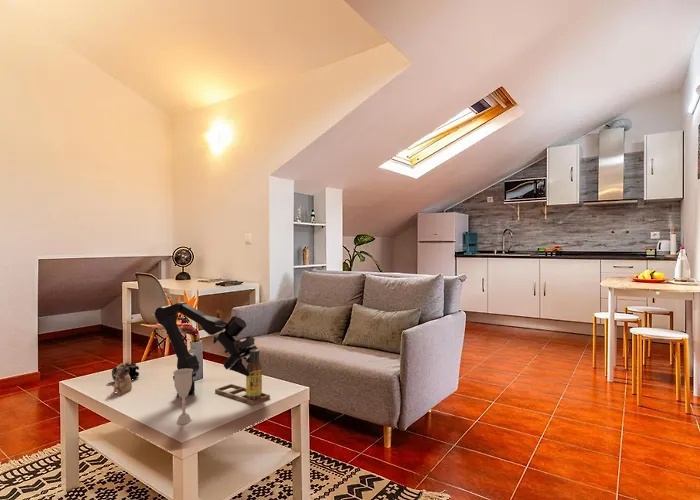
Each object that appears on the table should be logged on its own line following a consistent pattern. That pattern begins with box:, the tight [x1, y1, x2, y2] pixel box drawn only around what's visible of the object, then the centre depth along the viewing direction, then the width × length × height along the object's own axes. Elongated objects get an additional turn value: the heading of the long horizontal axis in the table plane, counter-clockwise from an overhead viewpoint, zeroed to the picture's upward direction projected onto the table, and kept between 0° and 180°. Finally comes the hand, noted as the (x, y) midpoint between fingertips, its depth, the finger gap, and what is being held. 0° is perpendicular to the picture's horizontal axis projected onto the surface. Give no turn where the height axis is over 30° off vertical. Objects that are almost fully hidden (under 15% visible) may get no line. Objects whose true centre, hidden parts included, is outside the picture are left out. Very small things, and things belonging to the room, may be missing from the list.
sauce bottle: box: [245, 349, 263, 401], centre depth 173 cm, size 6×6×20 cm
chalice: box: [172, 368, 193, 425], centre depth 153 cm, size 7×7×18 cm
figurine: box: [113, 362, 133, 394], centre depth 187 cm, size 7×7×12 cm
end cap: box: [111, 362, 140, 382], centre depth 202 cm, size 10×7×7 cm
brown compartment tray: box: [214, 383, 271, 406], centre depth 178 cm, size 25×9×2 cm, turn 53°
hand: (254, 372), depth 173 cm, fingers open, 9 cm apart
